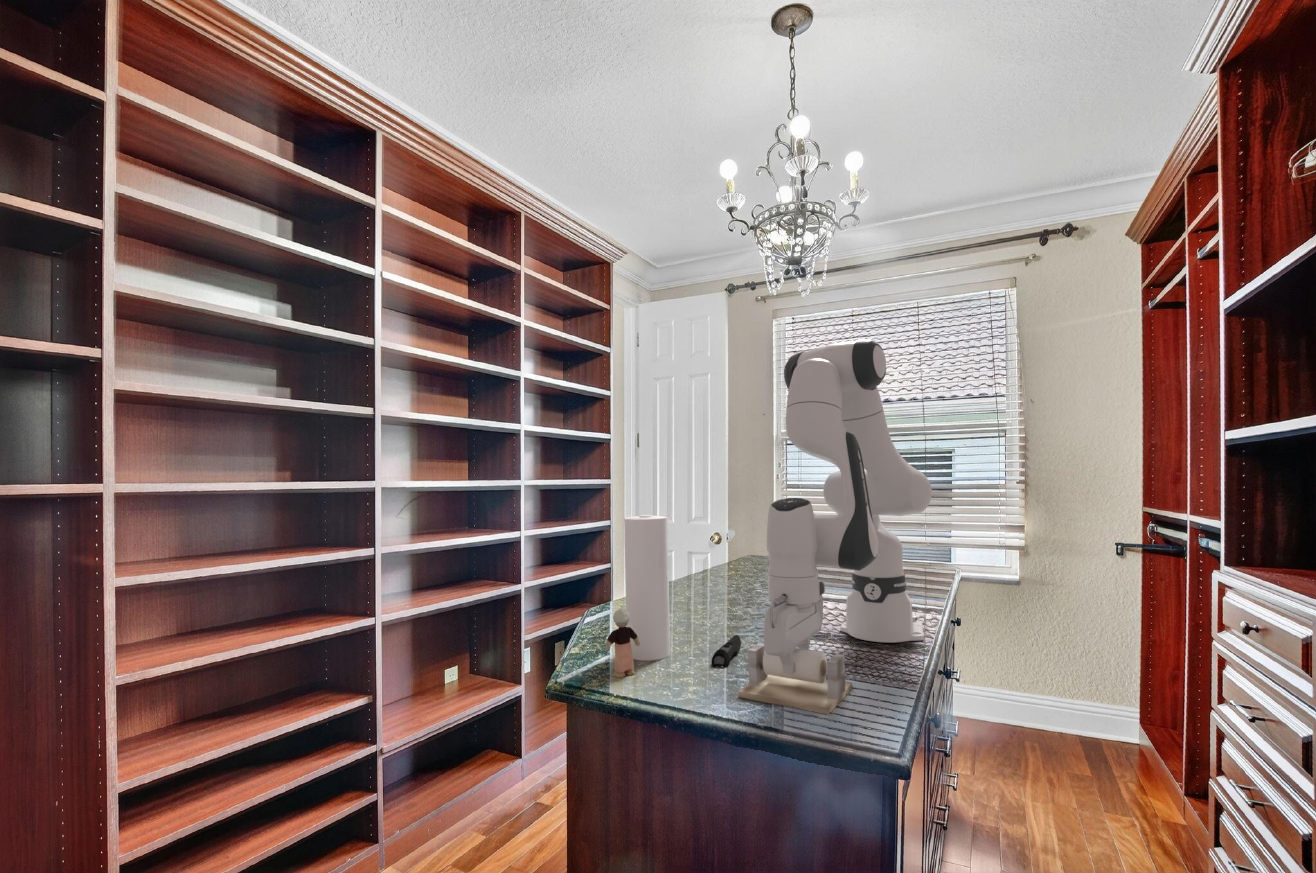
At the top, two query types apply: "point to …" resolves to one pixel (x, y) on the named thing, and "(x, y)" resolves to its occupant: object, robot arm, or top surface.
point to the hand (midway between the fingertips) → (795, 668)
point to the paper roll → (799, 665)
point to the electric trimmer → (726, 652)
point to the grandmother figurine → (622, 644)
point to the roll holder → (796, 685)
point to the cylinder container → (647, 585)
